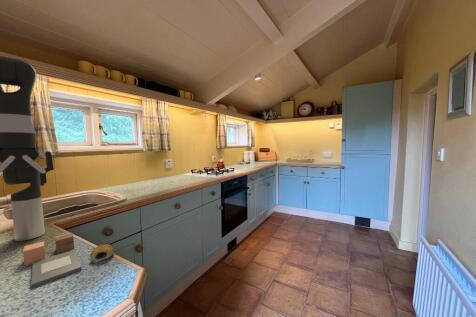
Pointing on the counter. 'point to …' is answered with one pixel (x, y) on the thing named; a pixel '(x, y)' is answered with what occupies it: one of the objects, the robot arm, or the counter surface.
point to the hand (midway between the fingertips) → (21, 188)
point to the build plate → (54, 267)
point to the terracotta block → (34, 252)
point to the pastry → (101, 253)
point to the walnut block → (64, 242)
